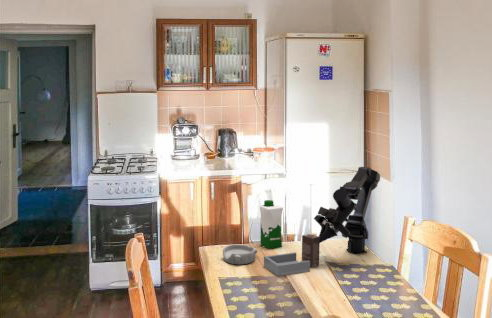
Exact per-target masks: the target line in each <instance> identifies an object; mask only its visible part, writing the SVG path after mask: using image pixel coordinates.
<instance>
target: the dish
mask: <svg viewBox="0 0 492 318" xmlns="http://www.w3.org/2000/svg"><path fill="white" fill-rule="evenodd" d="M257 253H258V249H257V248H255V247H254V246H249V245H247V244H242V243H241V244H240V243H235V244H234V243H233V244H229V245H227V246H224V247H223V249H222V256H223V259H224V261H225V262H226V263H228V264H232V265H238V266H239V265H248V264H250V263H253V262H254V261H255V259H256V254H257Z"/></svg>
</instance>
